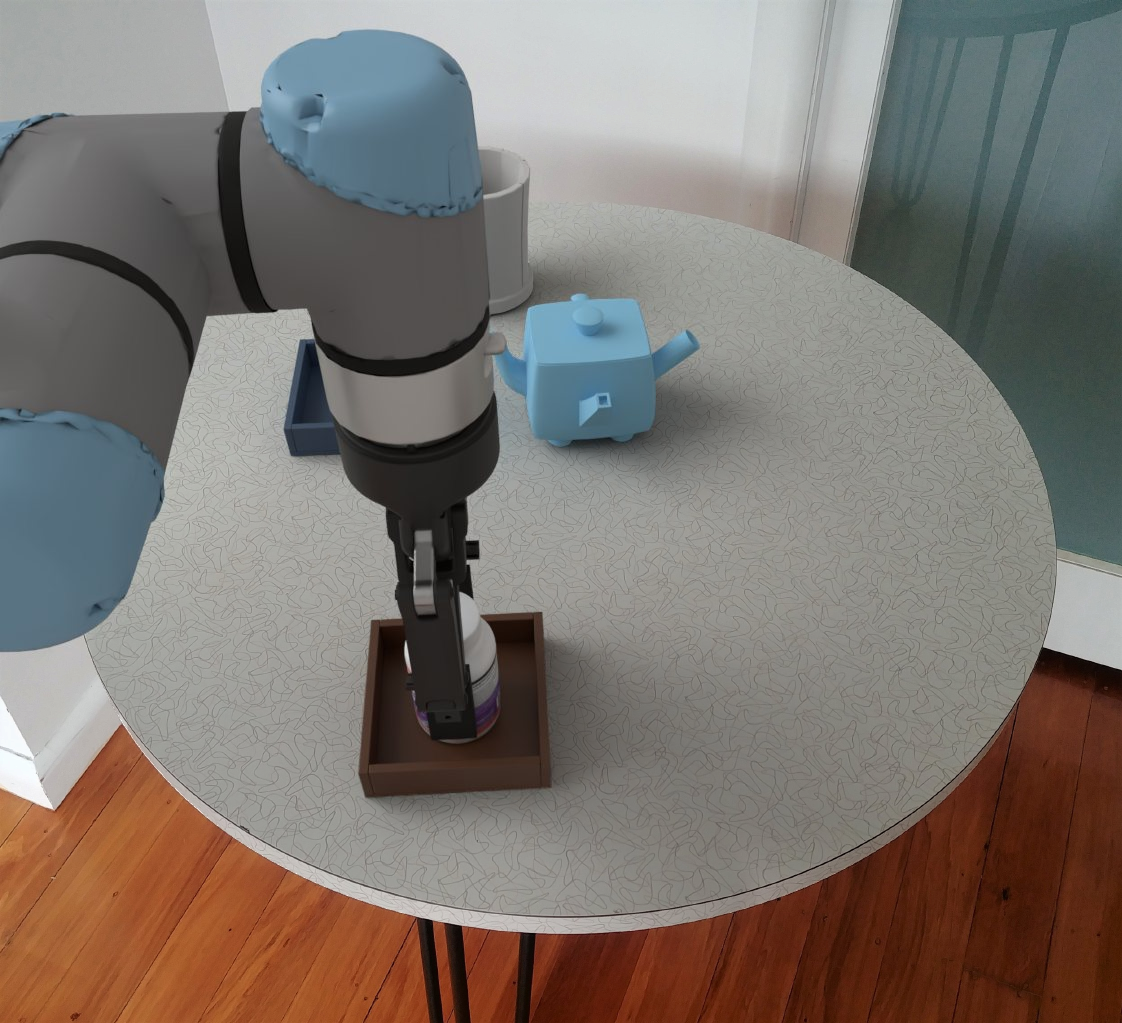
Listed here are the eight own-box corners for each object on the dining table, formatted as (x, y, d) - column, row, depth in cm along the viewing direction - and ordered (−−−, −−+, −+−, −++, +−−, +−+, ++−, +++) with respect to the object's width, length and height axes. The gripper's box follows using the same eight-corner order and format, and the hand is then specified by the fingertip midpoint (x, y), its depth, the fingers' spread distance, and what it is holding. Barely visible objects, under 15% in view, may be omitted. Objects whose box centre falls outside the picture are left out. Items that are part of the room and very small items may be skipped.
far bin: (290, 456, 84) (283, 429, 82) (306, 366, 91) (299, 339, 89) (432, 450, 84) (428, 423, 82) (436, 360, 92) (432, 333, 90)
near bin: (365, 797, 64) (357, 773, 61) (376, 645, 71) (370, 619, 69) (551, 787, 64) (550, 763, 62) (543, 637, 72) (542, 611, 69)
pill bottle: (398, 719, 67) (377, 627, 60) (451, 660, 70) (437, 565, 63) (467, 762, 65) (453, 671, 58) (518, 699, 68) (511, 605, 61)
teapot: (679, 359, 92) (688, 259, 84) (712, 472, 82) (726, 371, 75) (471, 374, 90) (462, 274, 83) (480, 491, 81) (470, 390, 73)
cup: (541, 324, 95) (538, 205, 86) (440, 333, 94) (426, 213, 86) (528, 258, 102) (524, 142, 93) (434, 266, 101) (421, 149, 93)
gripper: (499, 555, 42) (520, 826, 59) (493, 271, 55) (512, 559, 72) (307, 564, 41) (384, 834, 58) (348, 277, 55) (401, 564, 72)
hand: (455, 682), depth 65 cm, fingers open, 6 cm apart
